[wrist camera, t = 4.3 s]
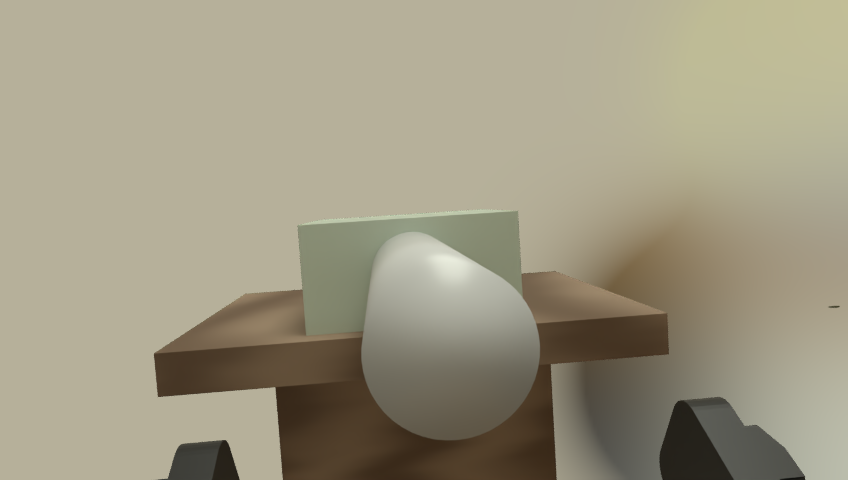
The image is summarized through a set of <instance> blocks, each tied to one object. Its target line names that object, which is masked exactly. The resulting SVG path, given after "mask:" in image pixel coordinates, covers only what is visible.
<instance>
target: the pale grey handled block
mask: <svg viewBox="0 0 848 480" xmlns="http://www.w3.org/2000/svg"><path fill="white" fill-rule="evenodd" d="M298 237H299V249H300V263H301V276H302V289H303V302H304V315H305V328H306V336H309V335H322V334H335V333H347V332H360V331H364V332H363V340H362V347H361V360H362V367H363V373H364V376H365V380H366V383H367V386H368V388H369V390H370V393H371V394H372V396H373V398H374V399H375V401H376V403H377V404H378V405H379V407H380V408H381V409H382V410H383V412H384V413H385V414H386V415H387V416H388V417H390V418H391V419H392V420H393V421H394V422H396V423H397V424H398V425H400V426H401V427H403V428H404V429H406V430H408V431H410V432H412V433H415V434H417V435H420V436H422V437H426V438H431V439H436V440H461V439H468V438H471V437H475V436H478V435H481V434H483V433H486V432H488V431H490V430H492V429H494V428H495V427H497V426H499V425H500V424H502V423H503V422H504V421H505V420H507V419H508V418H509V417H510V416H511V415H512V414H513V413H514V412H515V411H516V410H517V409H518V408H519V407H520V405H521V404H522V403H523V401H524V400H525V399H526V397H527V395H528V393H529V392H530V390H531V388H532V385H533V383H534V381H535V378H536V374H537V370H538V366H539V359H540V342H539V334H538V330H537V326H536V322H535V320H534V317H533V315H532V312H531V310H530V309H529V307H528V305H527V303H526V302H525V300H524V299H523V294H522V276H521V258H520V241H519V240H520V239H519V221H518V211H507V210H468V211H467V210H466V211H453V212H452V211H451V212H436V213H420V214H407V215H406V214H405V215H390V216H374V217H359V218H344V219H330V220H329V219H328V220H318V221H314V222H310V223H306V224H301V225H298Z"/></svg>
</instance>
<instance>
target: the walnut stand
mask: <svg viewBox="0 0 848 480" xmlns="http://www.w3.org/2000/svg"><path fill="white" fill-rule="evenodd" d="M521 276H522V294H523V299H524V300H525V302H526V303H527V305H528V307H529V309H530V310H531V312H532V315H533V317H534V320H535V322H536V326H537V330H538V334H539V342H540V359H539V366H538V370H537V374H536V378H535V381H534V383H533V385H532V388H531V390H530V392H529V393H528V395H527V397H526V399H525V400H524V401H523V403H522V404H521V405H520V407H519V408H518V409H517V410H516V411H515V412H514V413H513V414H512V415H511V416H510V417H509V418H508V419H507V420H505V421H504V422H503V423H502V424H500V425H499V426H497V427H495V428H494V429H492V430H490V431H488V432H486V433H483V434H481V435H478V436H475V437H471V438H468V439H461V440H436V439H431V438H426V437H422V436H420V435H417V434H415V433H412V432H410V431H408V430H406V429H404V428H403V427H401V426H400V425H398V424H397V423H396V422H394V421H393V420H392V419H391V418H390V417H388V416H387V415H386V414H385V413H384V412H383V410H382V409H381V408H380V407H379V405H378V404H377V403H376V401H375V399H374V398H373V396H372V394H371V393H370V390H369V388H368V386H367V383H366V380H365V376H364V373H363V367H362V360H361V347H362V340H363V332H364V331H360V332H347V333H335V334H322V335H309V336H306V328H305V315H304V302H303V290H292V291H278V292H264V293H251V294H244V295H243V296H241V297H240V298H238V299H237V300H235V301H234V302H232V303H231V304H229V305H228V306H226V307H225V308H223V309H222V310H220V311H218V312H217V313H215V314H214V315H212V316H211V317H209V318H208V319H206V320H205V321H203V322H202V323H200V324H199V325H197V326H195V327H194V328H192V329H191V330H189V331H188V332H186V333H185V334H183V335H182V336H180V337H179V338H177V339H176V340H174V341H173V342H171V343H170V344H168V345H166V346H165V347H163V348H162V349H160V350H159V351H157V352H156V353H154V359H155V370H156V381H157V392H158V397H163V396H174V395H187V394H199V393H211V392H223V391H235V390H247V389H258V388H270V387H276V399H277V412H278V424H279V437H280V449H281V462H282V474H283V480H557V479H556V459H555V441H554V423H553V422H554V421H553V403H552V384H551V364H557V363H570V362H582V361H594V360H605V359H617V358H629V357H641V356H653V355H665V354H669V348H668V322H667V313H665V312H663V311H660V310H657V309H654V308H652V307H649V306H647V305H644V304H641V303H638V302H636V301H633V300H630V299H628V298H625V297H623V296H620V295H617V294H615V293H612V292H609V291H607V290H604V289H601V288H599V287H596V286H593V285H590V284H588V283H585V282H583V281H580V280H577V279H574V278H572V277H569V276H566V275H564V274H561V273H558V272H556V271H552V272H538V273H524V274H521Z"/></svg>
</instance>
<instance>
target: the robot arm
mask: <svg viewBox="0 0 848 480" xmlns="http://www.w3.org/2000/svg"><path fill="white" fill-rule="evenodd" d="M660 470H661V475H662V479H663V480H805V476H804V474H803V473H802V471H801V470H800V469H799V467H798V466H797V464H796V463H795V462H794V460H793V459H792V457H791V456H790V455H789V453H788V452H787V451H786V449H785V448H784V447H783V446H782V445H781V444H779V443H778V442H777V441H776V440H774V439H773V438H772V437H771V436H770V435H768V434H767V433H766V432H765V431H763V430H762V429H761V428H760V427H759V426H757V425H752V426H744V425H743V423H742V422H741V420H740V419H739V417H738V416H737V414H736V413H735V411H734V409H733V408H732V407H731V405H730V404H729V403H728V402H727V401H726V400H725V399H723V398H721V397H714V398H704V399H692V400H681V401H678V402H677V403H676V404H675V406H674V409H673V412H672V415H671V419H670V422H669V425H668V428H667V432H666V435H665V438H664V441H663V444H662V448H661V451H660ZM160 480H239V476H238V473H237V470H236V466H235V463H234V460H233V457H232V453H231V451H230V447H229V444H228V443H227V441H226V440H222V441H209V442H199V443H187V444H181V445H180V446H179V447H178V449H177V451H176V453H175V456H174V460H173V463H172V466H171V470H170V473H169V477H168V479H160Z"/></svg>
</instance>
